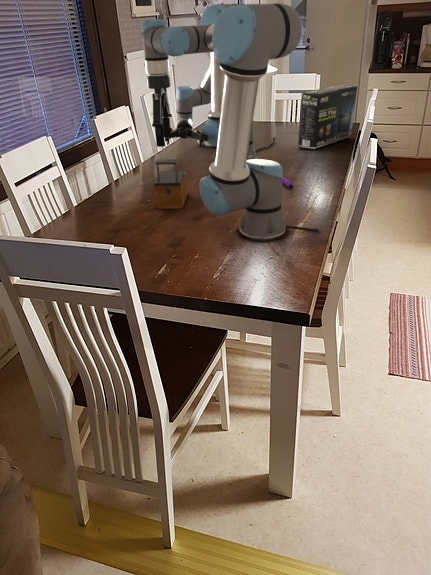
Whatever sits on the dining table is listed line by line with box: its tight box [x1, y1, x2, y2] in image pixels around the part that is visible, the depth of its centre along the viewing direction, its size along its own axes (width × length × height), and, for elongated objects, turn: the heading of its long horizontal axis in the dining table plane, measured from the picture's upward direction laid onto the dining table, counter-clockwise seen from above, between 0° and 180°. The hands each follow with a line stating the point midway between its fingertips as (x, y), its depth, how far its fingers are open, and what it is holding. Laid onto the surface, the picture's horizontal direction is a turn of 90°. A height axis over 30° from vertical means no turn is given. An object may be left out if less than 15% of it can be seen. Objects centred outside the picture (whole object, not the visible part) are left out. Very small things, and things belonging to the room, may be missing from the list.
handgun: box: [283, 176, 294, 190], centre depth 191 cm, size 21×8×2 cm, turn 11°
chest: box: [154, 174, 188, 210], centre depth 174 cm, size 14×10×9 cm
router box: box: [297, 84, 358, 151], centre depth 238 cm, size 36×11×27 cm, turn 134°
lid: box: [153, 158, 186, 187], centre depth 169 cm, size 15×10×9 cm, turn 176°
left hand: (184, 142), depth 192 cm, fingers open, 13 cm apart
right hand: (164, 141), depth 159 cm, fingers open, 13 cm apart
